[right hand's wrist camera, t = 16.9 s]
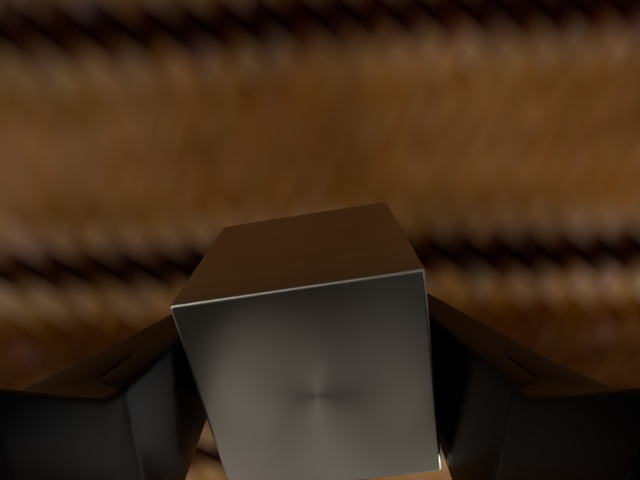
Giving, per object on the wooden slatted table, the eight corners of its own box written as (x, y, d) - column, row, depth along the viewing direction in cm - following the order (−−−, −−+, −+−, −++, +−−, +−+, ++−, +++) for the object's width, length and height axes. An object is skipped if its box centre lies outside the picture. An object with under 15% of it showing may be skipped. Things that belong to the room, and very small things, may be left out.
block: (402, 346, 13) (442, 471, 9) (259, 366, 13) (231, 496, 9) (386, 200, 11) (425, 268, 7) (223, 226, 12) (168, 306, 7)
